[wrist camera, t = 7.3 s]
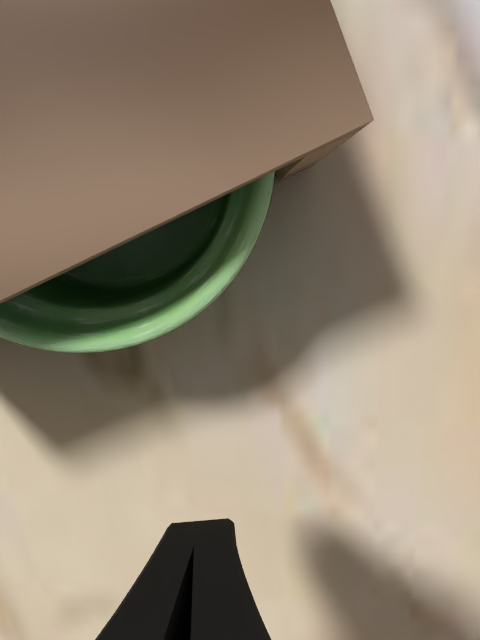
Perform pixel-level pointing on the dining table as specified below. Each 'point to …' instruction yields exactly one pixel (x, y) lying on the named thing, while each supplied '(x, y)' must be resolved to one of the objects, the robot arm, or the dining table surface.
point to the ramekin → (143, 280)
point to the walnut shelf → (155, 116)
